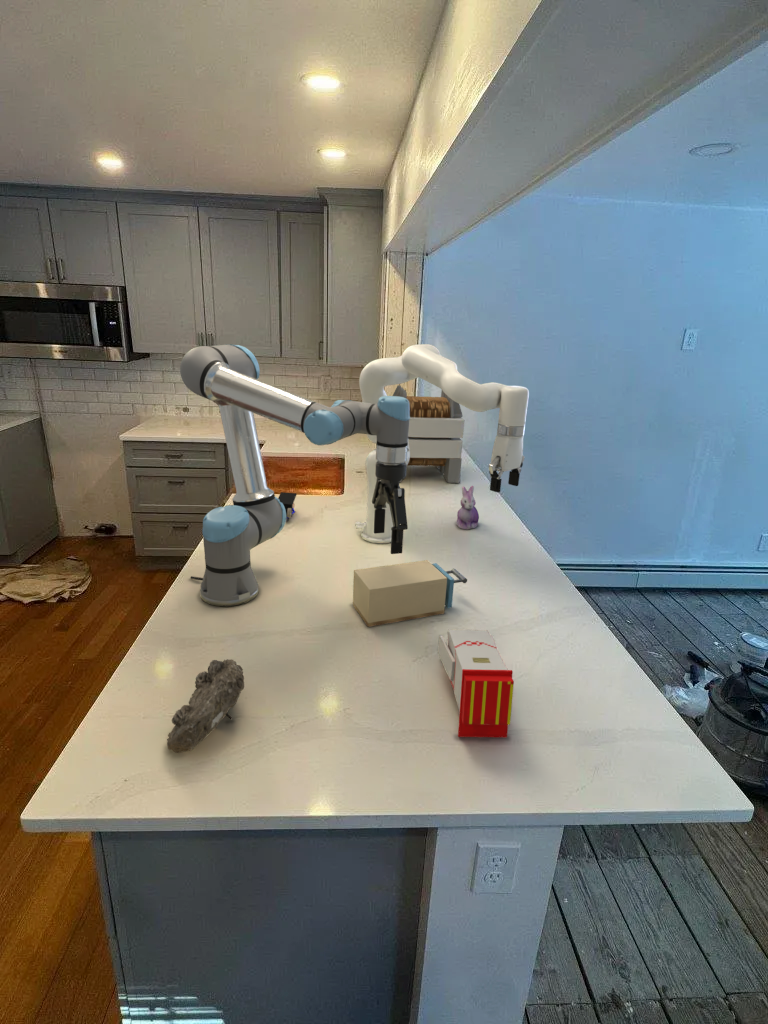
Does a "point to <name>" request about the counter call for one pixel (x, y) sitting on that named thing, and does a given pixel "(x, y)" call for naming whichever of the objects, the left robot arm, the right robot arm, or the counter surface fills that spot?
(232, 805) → the counter surface
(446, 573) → the drawer
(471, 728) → the toy
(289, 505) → the figurine character
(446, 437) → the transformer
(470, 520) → the figurine
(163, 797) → the counter surface
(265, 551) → the counter surface
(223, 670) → the fossil
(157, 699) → the counter surface
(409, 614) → the tan storage bin
